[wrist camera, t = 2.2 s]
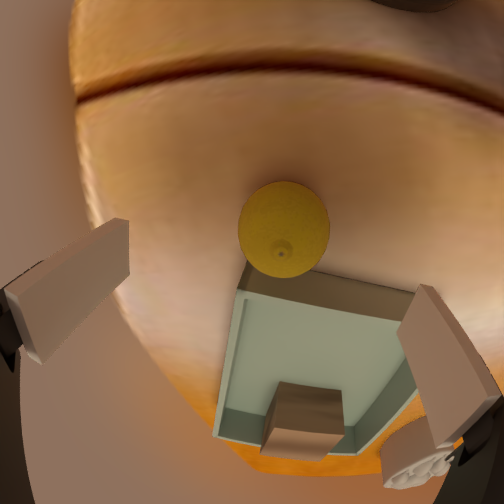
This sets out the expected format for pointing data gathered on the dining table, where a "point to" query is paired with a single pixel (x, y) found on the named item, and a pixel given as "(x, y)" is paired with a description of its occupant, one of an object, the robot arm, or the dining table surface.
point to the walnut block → (303, 422)
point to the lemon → (283, 229)
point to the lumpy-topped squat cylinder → (412, 456)
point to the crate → (315, 353)
